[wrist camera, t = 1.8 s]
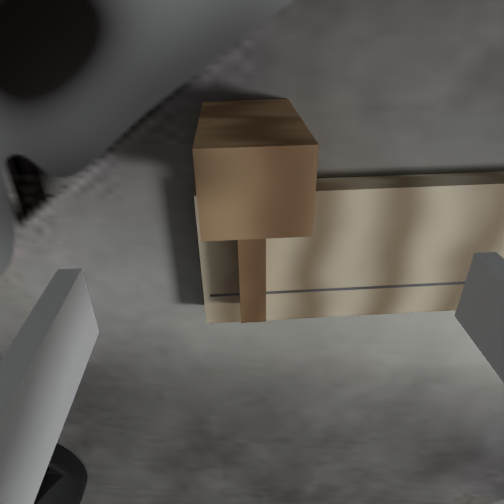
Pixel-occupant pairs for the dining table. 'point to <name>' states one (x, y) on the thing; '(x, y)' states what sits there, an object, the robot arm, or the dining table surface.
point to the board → (369, 248)
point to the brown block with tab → (254, 184)
